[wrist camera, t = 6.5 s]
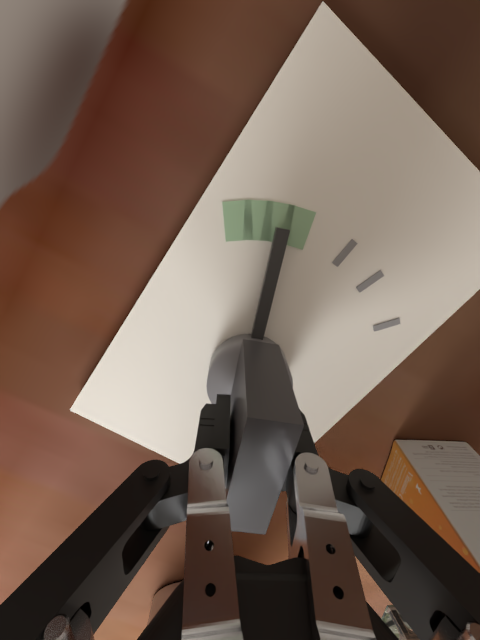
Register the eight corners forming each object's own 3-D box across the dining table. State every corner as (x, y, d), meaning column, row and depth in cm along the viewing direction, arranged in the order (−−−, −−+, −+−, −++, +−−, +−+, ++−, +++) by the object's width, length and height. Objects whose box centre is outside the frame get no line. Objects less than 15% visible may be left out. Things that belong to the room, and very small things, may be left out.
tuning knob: (275, 411, 19) (299, 538, 12) (203, 400, 19) (182, 525, 12) (326, 237, 15) (415, 269, 8) (235, 218, 15) (235, 232, 7)
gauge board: (252, 483, 25) (253, 501, 23) (80, 396, 21) (68, 411, 19) (512, 232, 17) (539, 234, 15) (313, 22, 13) (323, -1, 12)
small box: (392, 437, 23) (566, 694, 11) (467, 439, 23) (718, 694, 11) (368, 504, 26) (483, 763, 14) (435, 506, 26) (605, 762, 14)
